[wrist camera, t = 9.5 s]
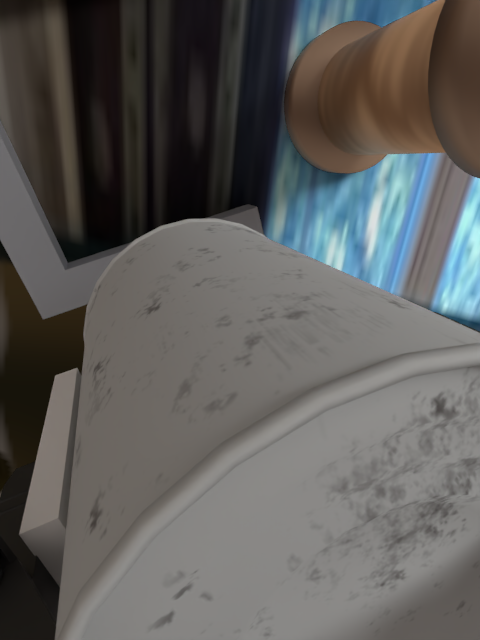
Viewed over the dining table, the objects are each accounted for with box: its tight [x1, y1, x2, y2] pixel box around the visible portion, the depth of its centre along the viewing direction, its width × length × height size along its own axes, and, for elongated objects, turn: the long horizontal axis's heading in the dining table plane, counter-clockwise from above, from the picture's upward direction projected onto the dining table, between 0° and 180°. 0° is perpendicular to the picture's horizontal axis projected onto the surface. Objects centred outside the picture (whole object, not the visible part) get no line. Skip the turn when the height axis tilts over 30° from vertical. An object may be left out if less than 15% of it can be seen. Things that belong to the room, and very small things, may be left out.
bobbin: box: [284, 0, 480, 178], centre depth 21 cm, size 9×9×15 cm
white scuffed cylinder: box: [55, 218, 480, 640], centre depth 11 cm, size 10×10×12 cm
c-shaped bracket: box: [0, 120, 264, 319], centre depth 23 cm, size 19×16×2 cm
